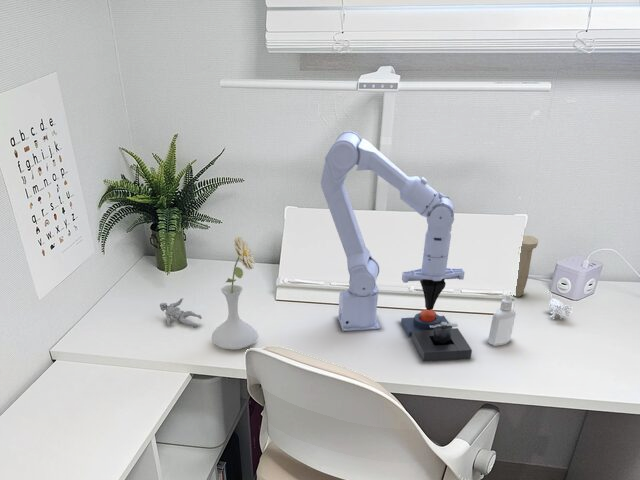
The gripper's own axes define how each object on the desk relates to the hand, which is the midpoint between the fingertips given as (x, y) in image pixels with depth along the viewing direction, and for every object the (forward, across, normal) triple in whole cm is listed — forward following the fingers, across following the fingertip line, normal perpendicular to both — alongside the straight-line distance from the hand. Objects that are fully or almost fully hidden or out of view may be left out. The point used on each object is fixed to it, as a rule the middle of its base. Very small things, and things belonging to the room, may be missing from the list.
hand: (428, 308), depth 166 cm
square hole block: (+6, 0, -11) cm, 12 cm away
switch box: (+6, 0, 0) cm, 6 cm away
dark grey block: (+6, 0, -11) cm, 12 cm away
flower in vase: (+6, -48, -1) cm, 48 cm away
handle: (+6, +30, +17) cm, 35 cm away
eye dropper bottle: (+6, +16, -9) cm, 19 cm away
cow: (+6, +34, +4) cm, 35 cm away
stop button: (+3, 0, 0) cm, 3 cm away
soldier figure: (+6, -62, +12) cm, 63 cm away
